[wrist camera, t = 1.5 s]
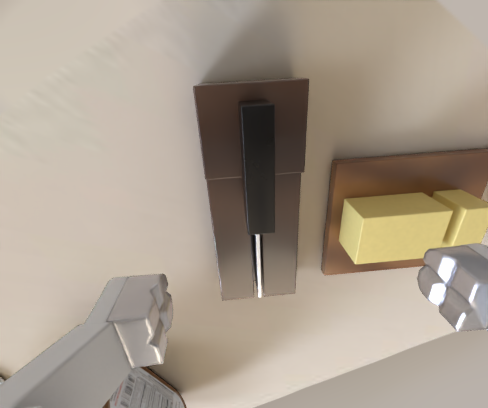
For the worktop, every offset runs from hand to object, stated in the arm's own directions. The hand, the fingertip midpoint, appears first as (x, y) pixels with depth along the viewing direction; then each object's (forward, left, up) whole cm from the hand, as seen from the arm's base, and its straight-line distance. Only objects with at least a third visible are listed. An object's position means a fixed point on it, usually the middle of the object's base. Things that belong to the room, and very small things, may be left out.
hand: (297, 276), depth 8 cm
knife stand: (+4, 0, -15) cm, 15 cm away
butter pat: (+7, +17, -14) cm, 23 cm away
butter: (+7, +11, -14) cm, 19 cm away
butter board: (+7, +14, -15) cm, 21 cm away
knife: (+4, 0, -14) cm, 14 cm away
